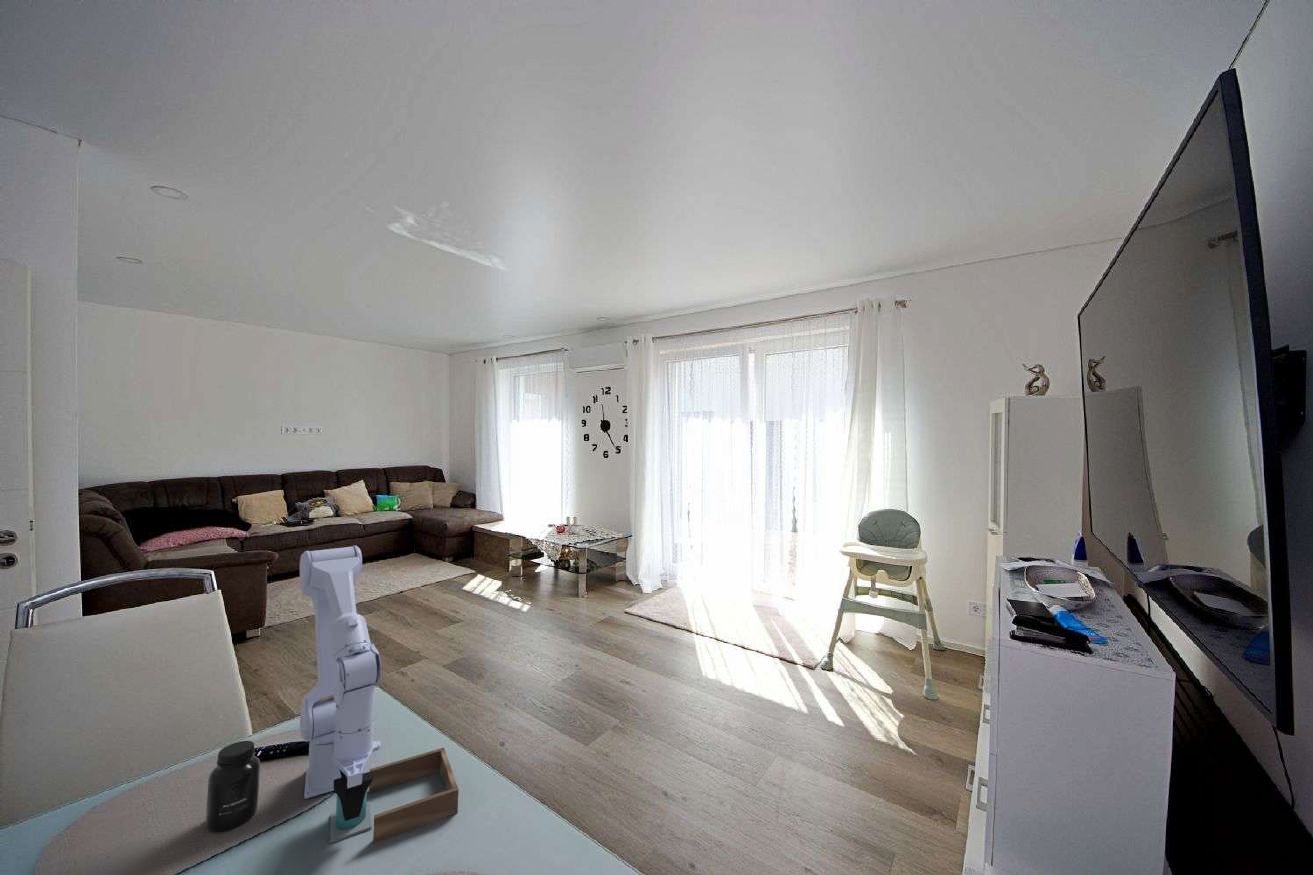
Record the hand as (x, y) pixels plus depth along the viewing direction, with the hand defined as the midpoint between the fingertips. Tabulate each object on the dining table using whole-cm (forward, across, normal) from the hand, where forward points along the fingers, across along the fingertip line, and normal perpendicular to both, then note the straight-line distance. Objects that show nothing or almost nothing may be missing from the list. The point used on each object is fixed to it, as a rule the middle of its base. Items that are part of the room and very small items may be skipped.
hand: (351, 803), depth 84 cm
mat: (+3, 0, 0) cm, 3 cm away
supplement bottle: (+3, +11, +17) cm, 21 cm away
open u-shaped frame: (+3, 0, -10) cm, 10 cm away
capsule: (+3, 0, 0) cm, 3 cm away
